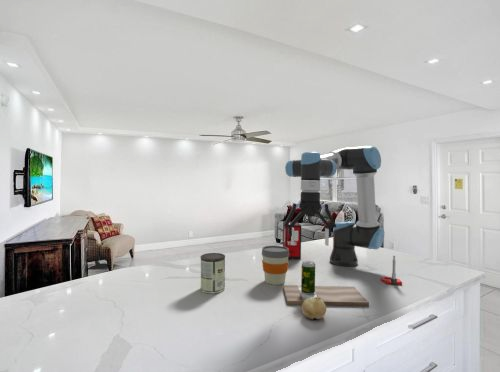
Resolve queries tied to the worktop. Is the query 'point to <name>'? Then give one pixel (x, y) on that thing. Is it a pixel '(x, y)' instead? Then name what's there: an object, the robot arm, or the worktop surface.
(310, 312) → the onion
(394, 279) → the tow hook
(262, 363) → the worktop surface
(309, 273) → the beer can
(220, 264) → the coffee can
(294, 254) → the cleaning product box
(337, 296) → the walnut board
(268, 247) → the reusable coffee cup
